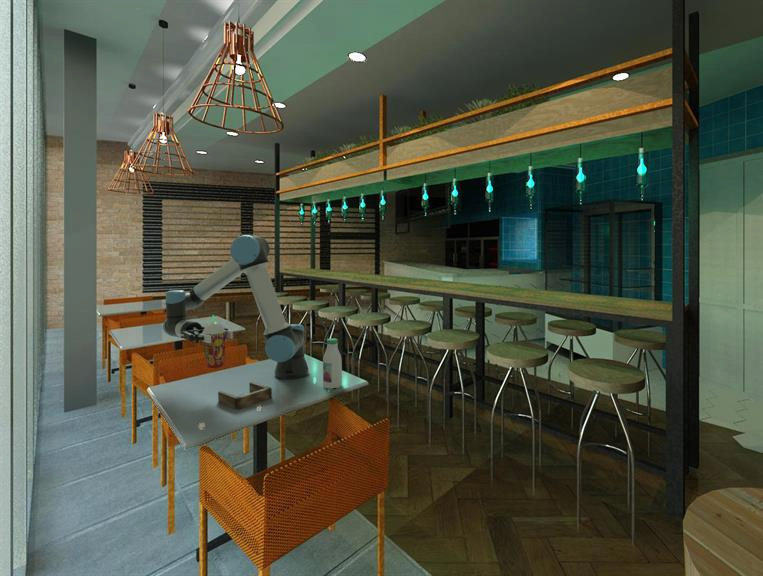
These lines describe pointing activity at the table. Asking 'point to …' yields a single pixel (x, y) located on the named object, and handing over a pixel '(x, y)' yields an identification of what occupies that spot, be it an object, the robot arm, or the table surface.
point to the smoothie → (214, 345)
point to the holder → (246, 396)
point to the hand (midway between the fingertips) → (221, 337)
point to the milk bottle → (332, 365)
